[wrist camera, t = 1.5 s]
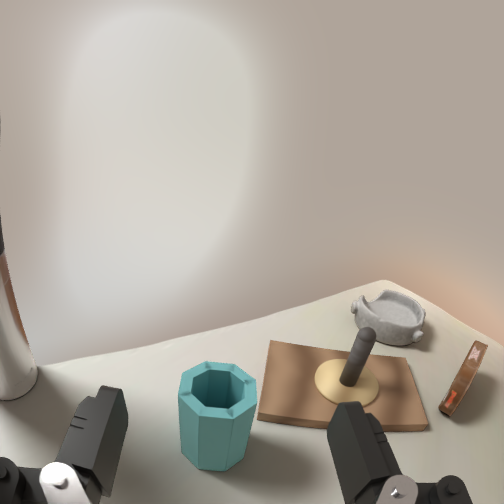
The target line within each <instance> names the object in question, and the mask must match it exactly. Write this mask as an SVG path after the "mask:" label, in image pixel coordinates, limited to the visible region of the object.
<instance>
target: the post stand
mask: <svg viewBox="0 0 504 504" xmlns="http://www.w3.org/2000/svg"><path fill="white" fill-rule="evenodd" d="M375 341H376V332H375V330H374V329H373V328H371V327H364V328H362V329H360V330H359V332H358V334H357V337H356V339H355V342H354V344H353V347H352V349H351V352H346V351H338V350H330V349H323V348H316V347H310V346H303V345H297V344H291V343H284V342H279V341H273V340H270V345H269V350H268V356H267V362H266V368H265V374H264V380H263V386H262V392H261V398H260V403H259V409H258V415H257V420H262V421H268V422H274V423H281V424H288V425H296V426H304V427H313V428H323V429H327V428H328V424H329V422H330V420H331V418H332V416H333V414H334V412H335V410H336V408H337V406H338V404H339V403H340V402H352V401H359V402H360V403H361V404H362V407H363V409H364V411H365V413H372V414H373V415H374V416H375V417H376V418H377V419H378V421H379V422H380V424H381V426H382V428H383V431H384V432H400V431H423V430H424V429H425V427H426V426H427V425H428V422H427V419H426V416H425V412H424V409H423V406H422V403H421V400H420V397H419V394H418V391H417V388H416V386H415V383H414V380H413V377H412V374H411V372H410V369H409V366H408V363H407V361H406V358H402V357H391V356H381V355H371V354H370V352H371V350H372V348H373V345H374V343H375Z"/></svg>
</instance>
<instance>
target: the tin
mask: <svg viewBox="0 0 504 504" xmlns="http://www.w3.org/2000/svg"><path fill="white" fill-rule="evenodd" d="M487 347H488V345H485V344H483V343H481V342H479V341H475V342H474V343H473V345H472V347H471V349H470V351H469V353H468V354H467V356H466V358H465V360H464V362H463V364H462V366H461V368H460V370H459V372H458V374H457V375H456V377H455V379H454V381H453V383H452V385H451V387H450V389H449V391H448V392H447V394H446V396H445V397H444V399H443V401H442V402H441V404H440V405H439V407H438V408H439V409H440V410H441V411H443V412H444V413H446V414H448V415H449V416H451V415H452V414H453V413H454V411H455V410H456V408H457V407H458V405H459V403H460V402H461V400H462V398H463V397H464V395H465V393H466V392H467V390H468V388H469V386H470V384H471V382H472V380H473V379H474V377H475V375H476V373H477V370H478V368H479V366H480V364H481V361H482V359H483V356H484V354H485V352H486V349H487Z"/></svg>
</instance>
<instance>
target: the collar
mask: <svg viewBox="0 0 504 504" xmlns="http://www.w3.org/2000/svg"><path fill="white" fill-rule="evenodd" d="M256 405H257V391H256V380H255V379H254V378H252V377H251V376H250V375H248V374H247V373H246V372H244V371H243V370H242V369H240V368H239V367H238V366H236V365H235V364H227V363H217V362H208V361H205V362H203V363H201V364H199V365H197V366H195V367H193V368H191V369H189V370H187V371H185V372H183V373H182V377H181V382H180V387H179V392H178V406H179V423H180V437H181V450H182V453H183V454H184V455H185V456H186V457H187V458H188V459H189V460H190V461H191V462H192V463H193V464H194V465H195V466H196V467H197V468H198V469H202V470H212V471H226V470H228V469H229V468H231V467H232V466H233V465H235V464H236V463H237V462H239V461H240V460H241V459H243V457H244V454H245V450H246V446H247V442H248V438H249V434H250V430H251V426H252V422H253V418H254V414H255V409H256Z"/></svg>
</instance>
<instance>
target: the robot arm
mask: <svg viewBox="0 0 504 504" xmlns="http://www.w3.org/2000/svg"><path fill="white" fill-rule="evenodd" d="M37 375H38V369H37V366H36V363H35V360H34V358H33V355H32V352H31V350H30V347H29V343H28V340H27V337H26V334H25V331H24V328H23V325H22V321H21V318H20V314H19V311H18V307H17V303H16V300H15V296H14V292H13V287H12V284H11V279H10V274H9V270H8V264H7V259H6V254H5V248H4V242H3V235H2V227H1V217H0V399H1V400H12V399H16V398H18V397H21V396H23V395H24V394H26V393H27V392H28V391H29V390H30V389H31V388H32V387H33V385H34V384H35V382H36V380H37ZM127 427H128V412H127V408H126V404H125V400H124V395H123V391H122V389H118V388H113V387H108V386H103V385H102V386H101V387H100V389H99V391H98V393H97V396H96V398H94V397H90V396H88V397H86V398H85V399H84V400H83V401H82V402H81V403H80V404H79V405H78V407H77V410H76V412H75V414H74V418H73V419H72V421H71V424H70V426H69V429H68V431H67V433H66V436H65V438H64V441H63V443H62V446H61V448H60V451H59V453H58V456H57V458H56V460H55V461H54V462H53V463H51V464H48V465H47V466H45V467H44V468H40V469H36V468H25V467H17V466H16V465H15V464H14V463H13V462H12V461H11V460H10V459H8V458H5V457H0V504H99V503H100V498H101V495H103V496H107V497H110V496H111V491H112V487H113V482H114V478H115V474H116V470H117V466H118V462H119V458H120V454H121V450H122V446H123V442H124V438H125V435H126V431H127ZM327 439H328V443H329V446H330V450H331V453H332V457H333V461H334V464H335V468H336V471H337V475H338V479H339V482H340V486H341V490H342V494H343V497H344V501H345V504H473V503H472V501H471V498H470V496H469V494H468V491H467V489H466V486H465V484H464V482H463V481H462V480H461V479H460V478H459V477H457V476H453V475H448V476H445V477H443V478H442V479H441V480H440V481H439V482H437V483H416V482H415V481H414V480H413V479H411V478H410V477H408V476H405V475H403V474H402V473H401V471H400V468H399V466H398V463H397V461H396V459H395V456H394V454H393V452H392V449H391V447H390V445H389V442H387V438H386V435H385V434H384V431H383V428H382V426H381V424H380V422H379V421H378V419H377V418H376V417H375V416H374V415H373V414H372V413H365V411H364V409H363V407H362V404H361V403H360V402H359V401H352V402H340V403H339V404H338V406H337V408H336V410H335V412H334V414H333V416H332V418H331V420H330V422H329V424H328V428H327Z"/></svg>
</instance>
